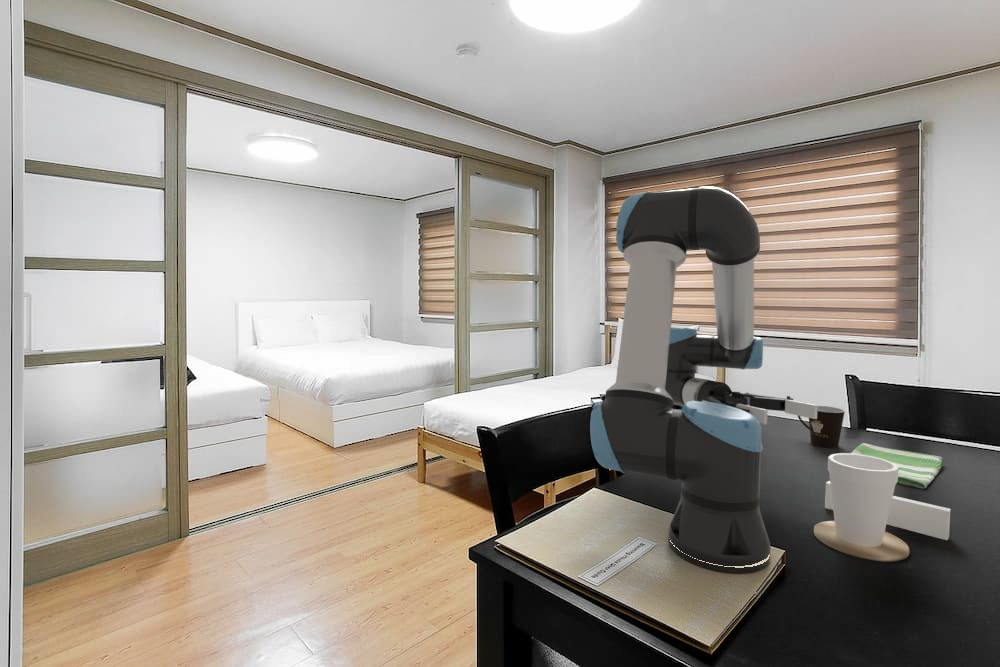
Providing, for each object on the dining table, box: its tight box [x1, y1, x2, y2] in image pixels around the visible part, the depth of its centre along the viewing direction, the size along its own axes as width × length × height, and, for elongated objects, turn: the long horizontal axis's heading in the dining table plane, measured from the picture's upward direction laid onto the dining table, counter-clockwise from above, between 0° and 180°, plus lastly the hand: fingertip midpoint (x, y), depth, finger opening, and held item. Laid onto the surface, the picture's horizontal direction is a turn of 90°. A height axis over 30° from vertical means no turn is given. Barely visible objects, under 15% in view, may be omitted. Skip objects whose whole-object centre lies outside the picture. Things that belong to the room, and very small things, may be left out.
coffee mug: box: [797, 405, 845, 449], centre depth 142 cm, size 12×9×10 cm
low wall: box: [824, 480, 952, 541], centre depth 92 cm, size 2×18×5 cm, turn 43°
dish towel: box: [850, 442, 943, 489], centre depth 122 cm, size 18×23×3 cm
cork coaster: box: [813, 520, 910, 562], centre depth 85 cm, size 13×13×1 cm
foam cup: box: [827, 452, 899, 547], centre depth 85 cm, size 10×9×13 cm
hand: (791, 414), depth 97 cm, fingers open, 13 cm apart
